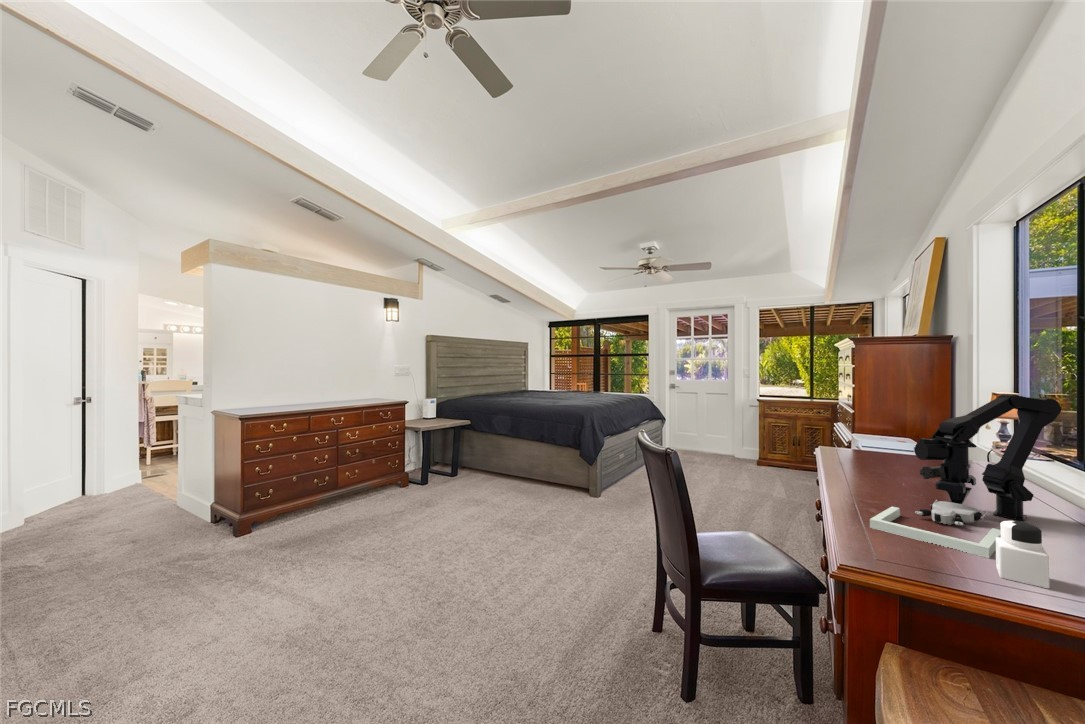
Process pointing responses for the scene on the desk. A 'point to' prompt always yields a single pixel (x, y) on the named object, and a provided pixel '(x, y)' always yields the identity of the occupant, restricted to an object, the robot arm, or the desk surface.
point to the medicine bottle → (1022, 554)
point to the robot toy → (951, 513)
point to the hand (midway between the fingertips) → (956, 509)
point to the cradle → (934, 534)
